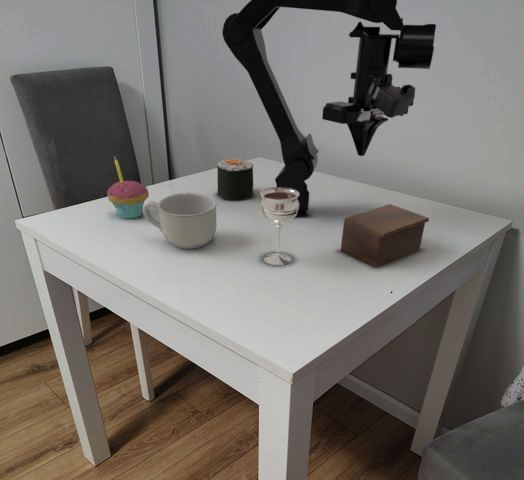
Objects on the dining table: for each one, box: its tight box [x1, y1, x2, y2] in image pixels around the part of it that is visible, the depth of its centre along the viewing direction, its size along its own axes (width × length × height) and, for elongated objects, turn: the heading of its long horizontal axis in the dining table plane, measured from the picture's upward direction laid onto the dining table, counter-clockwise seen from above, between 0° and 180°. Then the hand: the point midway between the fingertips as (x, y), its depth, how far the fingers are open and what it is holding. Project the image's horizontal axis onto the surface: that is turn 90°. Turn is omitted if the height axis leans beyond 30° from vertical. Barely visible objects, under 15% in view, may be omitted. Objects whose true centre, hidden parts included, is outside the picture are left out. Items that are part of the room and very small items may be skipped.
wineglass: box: [259, 186, 300, 266], centre depth 85 cm, size 7×7×12 cm
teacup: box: [142, 192, 217, 250], centre depth 92 cm, size 14×11×8 cm
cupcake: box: [106, 155, 150, 219], centre depth 103 cm, size 9×8×12 cm
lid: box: [343, 203, 430, 237], centre depth 88 cm, size 9×13×1 cm
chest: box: [340, 221, 426, 268], centre depth 91 cm, size 9×13×6 cm
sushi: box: [216, 157, 255, 202], centre depth 116 cm, size 8×8×8 cm
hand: (361, 155), depth 99 cm, fingers closed
